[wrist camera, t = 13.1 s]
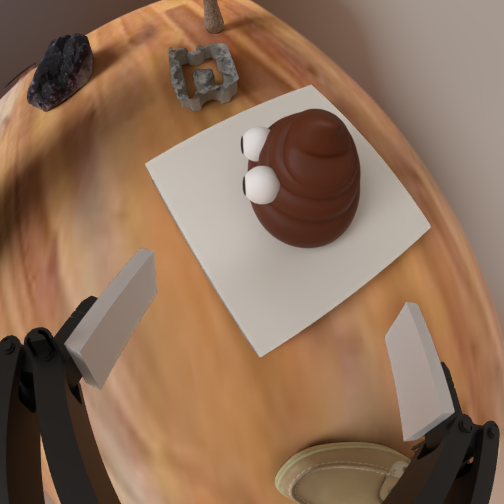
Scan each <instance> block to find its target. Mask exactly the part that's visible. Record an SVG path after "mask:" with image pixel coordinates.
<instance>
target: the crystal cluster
mask: <svg viewBox="0 0 504 504" xmlns="http://www.w3.org/2000/svg"><path fill="white" fill-rule="evenodd" d="M92 64H93V53H92V50H91V47H90V44H89V40H88V38H87V36H85V35H81V34H78V33H77V34H76V33H75V34H73V35H72V36H70V35H65V36H62V37H58V38H56V39H54V40H53V41H52V42H51V43H50V45H49V47H48V49H47V50H46V52H45V54H44V56H43V58H42V60H41V61H40V63H39V65H38V67H37V69H36V72H35V74H34V76H33V79H32V82H31V84H30V87H29V89H28V92H27V100H28V103H29V104H32V106H34V107H38V108H40V109H41V110H43V111H48V110H49V109H51V108H52V107H54V106H56V105H58V104H60V103H61V102H62V101H64V100H66V99H67V98H68V97H70V96H71V95H72V94H73V93H75V92H76V91H77V90H78V89H79V88H81V87H82V86H84V85H85V84H86V83H87V81H88V79H89V77H90V76H91V74H92V72H93V66H92Z"/></svg>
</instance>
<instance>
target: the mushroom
mask: <svg viewBox="0 0 504 504" xmlns="http://www.w3.org/2000/svg"><path fill="white" fill-rule="evenodd" d="M203 3H204V18H205V28H206V29H207V31H208V32H210V33H217V32H221V31H222V29H223V24H224V21H223V18H222V15H221V12H220V10H219V7H218V3H217V0H203Z"/></svg>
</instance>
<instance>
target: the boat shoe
mask: <svg viewBox="0 0 504 504" xmlns="http://www.w3.org/2000/svg"><path fill="white" fill-rule="evenodd" d="M410 462H411V460H410V459H409V458H407V457H406V456H404V455H402V454H400V453H399V452H397V451H395V450H393V449H391V448H389V447H387V446H384V445H380V444H375V443H369V442H338V443H328V444H321V445H316V446H312V447H309V448H306V449H304V450H301V451H299V452H297V453H296V454H294V455H293V456H291V457H290V458H289V459H288V460H287V461H286V462H285V463H284V464H283V465H282V466H281V468H280V469H279V471H278V472H277V475H276V478H275V485H276V487H277V489H278V490H279V491H280V492H281V493H282V494H283V495H284V496H286V497H287V498H289V499H290V500H292V501H294V502H296V503H297V504H382V502H383V501H384V500H385V498H386V497H387V496H388V494H389V493H390V492H391V490H392V489H393V488H394V486H395V485H396V483H397V482H398V480H399V479H400V477H401V476H402V474H403V473H404V471H405V470H406V468H407V466H408V465H409V463H410Z"/></svg>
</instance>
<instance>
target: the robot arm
mask: <svg viewBox="0 0 504 504" xmlns="http://www.w3.org/2000/svg"><path fill="white" fill-rule="evenodd" d="M156 294H157V284H156V272H155V258H154V251H153V250H148V249H144V248H140V249H139V251H138V252H137V253H136V254H135V255H134V256H133V257H132V258H131V260H130V261H129V262H128V263H127V264H126V265H125V267H124V268H123V269H122V270H121V271H120V272H119V274H118V275H117V276H116V277H115V278H114V280H113V281H112V282H111V283H110V284H109V286H108V287H107V288H106V289H105V291H104V292H103V293H102V294H101V296H100V297H99V298H96V297H94V296H90V297H88V298H87V299H85V300H84V301H82V302H81V303H80V305H79V306H78V307H77V308H76V311H74V312H73V313H72V315H71V317H69V318H68V320H67V321H66V322H65V323H64V325H63V326H62V327H61V329H60V330H59V331H58V333H57V334H56V335H55V337H54V338H53V336H52V334H51V332H50V331H49V330H48V329H46V328H43V327H39V328H35V329H32V330H31V331H30V332H29V333H28V334H27V335H26V337H25V340H24V344H25V345H22V344H21V342H20V340H19V339H18V338H17V337H16V336H13V335H11V336H7V337H5V338H3V339H2V340H1V341H0V504H45V501H44V493H43V484H42V472H41V449H40V435H41V437H42V442H43V446H44V451H45V455H46V459H47V462H48V466H49V470H50V473H51V476H52V480H53V483H54V486H55V489H56V492H57V494H58V497H59V500H60V502H61V504H121V503H120V501H119V499H118V496H117V494H116V492H115V490H114V488H113V485H112V483H111V481H110V479H109V476H108V474H107V471H106V469H105V466H104V464H103V461H102V458H101V455H100V453H99V450H98V447H97V444H96V441H95V438H94V435H93V431H92V428H91V425H90V421H89V418H88V414H87V410H86V406H85V402H84V398H83V394H82V389H81V385H80V383H79V381H80V379H81V378H82V377H83V378H84V380H85V381H86V383H88V384H90V385H92V386H94V387H96V388H98V389H100V390H101V389H102V387H103V385H104V383H105V381H106V379H107V377H108V376H109V374H110V372H111V370H112V368H113V367H114V365H115V363H116V361H117V359H118V358H119V356H120V354H121V352H122V351H123V349H124V347H125V345H126V344H127V342H128V340H129V338H130V337H131V335H132V333H133V332H134V330H135V328H136V326H137V325H138V323H139V321H140V320H141V318H142V316H143V315H144V313H145V312H146V310H147V308H148V307H149V305H150V303H151V302H152V300H153V299H154V297H155V295H156ZM385 341H386V346H387V350H388V354H389V358H390V363H391V368H392V372H393V377H394V382H395V387H396V393H397V398H398V404H399V410H400V417H401V424H402V431H403V439H404V441H412V440H417V439H419V438H420V437H422V436H423V435H425V440H424V441H422V442H420V443H419V444H417V445H416V446H414V447H413V448H412V449H411V450H415V449H416V448H418V447H419V448H418V450H417V451H415V452H416V453H415V455H414V457H413V458H412V460H411V462H410V463H409V465H408V466H407V468H406V470H405V471H404V473H403V474H402V476H401V477H400V479H399V480H398V482H397V483H396V485H395V486H394V488H393V489H392V490H391V492H390V493H389V494H388V496H387V497H386V498H385V500H384V501H383V502H382V504H488V503H489V500H490V496H491V492H492V487H493V482H494V475H495V471H496V464H497V456H498V447H499V435H500V434H499V428H498V426H497V424H496V423H495V422H494V421H488V422H486V423H485V424H484V425H482V426H480V425H476V424H473V422H472V420H471V418H470V417H469V416H468V415H466V414H462V411H461V408H460V404H459V400H458V397H457V393H456V390H455V388H454V384H453V381H452V377H451V374H450V371H449V369H448V368H447V366H446V365H445V363H444V362H440V360H439V357H438V354H437V351H436V349H435V346H434V343H433V341H432V338H431V335H430V333H429V330H428V328H427V325H426V323H425V320H424V318H423V315H422V313H421V311H420V308H419V306H418V304H417V303H411V302H406V303H405V305H404V307H403V308H402V310H401V312H400V313H399V315H398V316H397V318H396V320H395V321H394V323H393V324H392V326H391V328H390V329H389V331H388V332H387V334H386V335H385ZM472 457H474V459H473V462H472V463H470V464H469V460H470V458H472Z"/></svg>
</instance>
